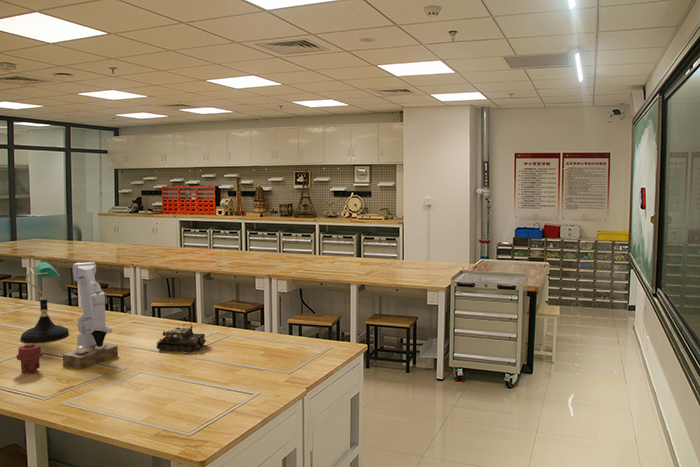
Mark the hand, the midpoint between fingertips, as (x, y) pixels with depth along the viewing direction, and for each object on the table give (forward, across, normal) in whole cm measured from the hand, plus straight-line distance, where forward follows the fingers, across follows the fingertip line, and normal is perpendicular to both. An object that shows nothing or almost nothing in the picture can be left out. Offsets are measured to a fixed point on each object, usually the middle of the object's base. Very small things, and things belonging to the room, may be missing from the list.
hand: (99, 346), depth 249 cm
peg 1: (+2, 0, -10) cm, 10 cm away
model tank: (+6, +25, +28) cm, 38 cm away
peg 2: (+5, 0, 0) cm, 5 cm away
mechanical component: (+6, -11, -27) cm, 30 cm away
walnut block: (+6, 0, -5) cm, 7 cm away
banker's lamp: (+6, -57, +13) cm, 59 cm away
